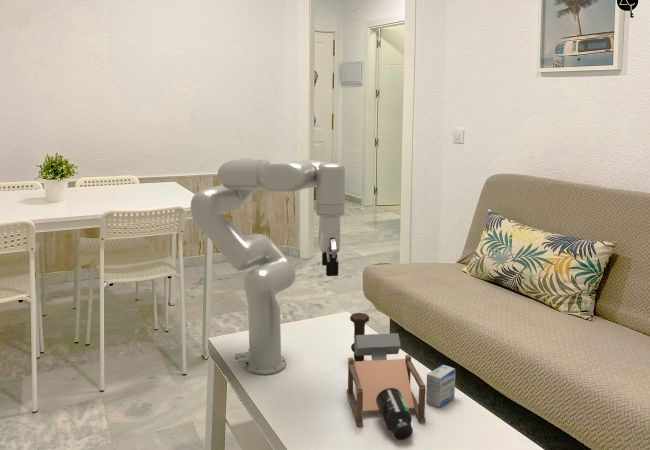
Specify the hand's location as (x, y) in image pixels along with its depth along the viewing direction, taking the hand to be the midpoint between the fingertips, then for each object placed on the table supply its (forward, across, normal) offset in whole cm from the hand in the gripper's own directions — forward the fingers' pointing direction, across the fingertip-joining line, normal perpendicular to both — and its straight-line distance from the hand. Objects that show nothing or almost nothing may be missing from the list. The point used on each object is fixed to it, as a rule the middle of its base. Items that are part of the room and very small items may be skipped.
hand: (329, 270), depth 164 cm
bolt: (+34, -14, +11) cm, 39 cm away
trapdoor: (+28, +8, +13) cm, 32 cm away
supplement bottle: (+28, +19, +13) cm, 36 cm away
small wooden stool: (+34, +14, +13) cm, 39 cm away
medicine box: (+34, +12, +29) cm, 47 cm away
